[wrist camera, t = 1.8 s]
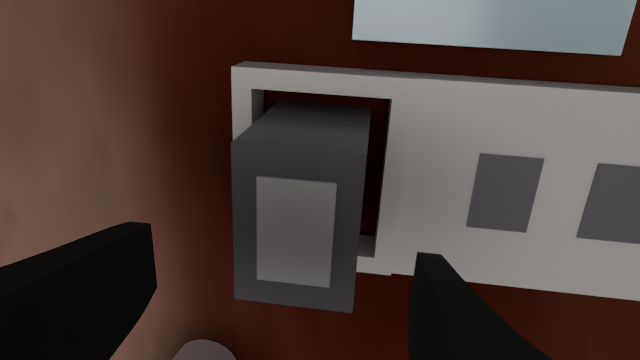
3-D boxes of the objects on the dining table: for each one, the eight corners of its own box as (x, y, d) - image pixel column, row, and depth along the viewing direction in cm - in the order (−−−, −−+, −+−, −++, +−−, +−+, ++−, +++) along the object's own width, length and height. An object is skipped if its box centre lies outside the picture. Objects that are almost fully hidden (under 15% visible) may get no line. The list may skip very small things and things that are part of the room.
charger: (371, 106, 19) (367, 155, 12) (360, 220, 21) (352, 315, 14) (280, 99, 19) (229, 143, 13) (278, 211, 21) (233, 300, 15)
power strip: (709, 92, 17) (749, 101, 15) (639, 279, 20) (666, 306, 18) (245, 61, 19) (231, 66, 17) (247, 237, 22) (235, 257, 20)
